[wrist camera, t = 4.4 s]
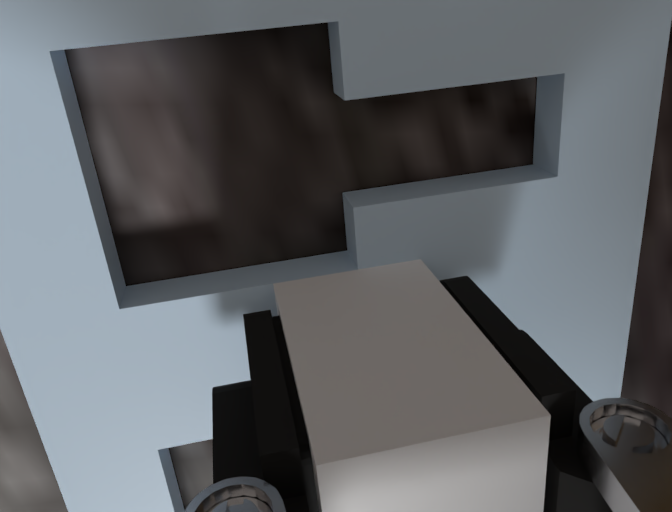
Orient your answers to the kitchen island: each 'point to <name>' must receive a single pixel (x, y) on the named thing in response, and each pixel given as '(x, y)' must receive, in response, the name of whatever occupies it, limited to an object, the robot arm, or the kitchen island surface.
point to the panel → (339, 257)
